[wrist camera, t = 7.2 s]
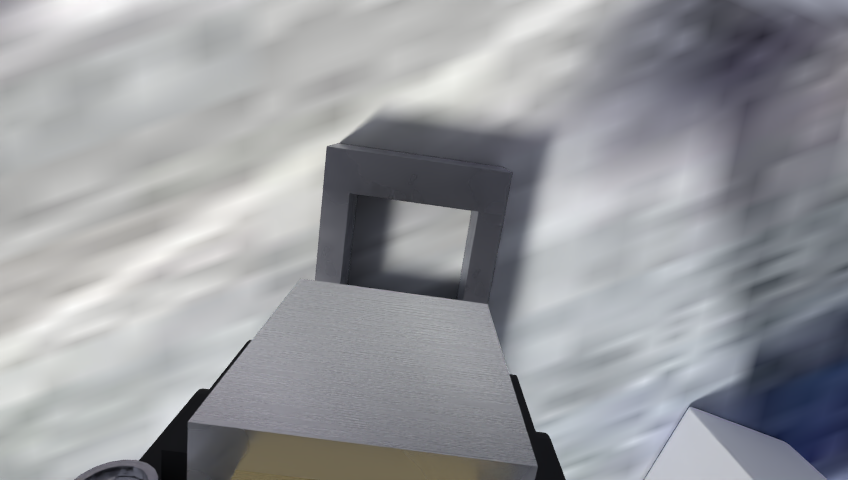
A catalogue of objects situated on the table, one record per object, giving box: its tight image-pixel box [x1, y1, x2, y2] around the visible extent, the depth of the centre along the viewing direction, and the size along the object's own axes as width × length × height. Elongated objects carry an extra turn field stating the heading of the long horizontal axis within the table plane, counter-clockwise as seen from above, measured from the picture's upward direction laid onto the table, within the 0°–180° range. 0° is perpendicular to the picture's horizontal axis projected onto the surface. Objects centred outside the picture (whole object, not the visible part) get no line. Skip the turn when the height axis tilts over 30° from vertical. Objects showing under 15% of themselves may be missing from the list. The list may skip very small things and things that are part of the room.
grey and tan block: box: [187, 279, 538, 480], centre depth 10 cm, size 5×5×7 cm
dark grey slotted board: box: [315, 143, 512, 304], centre depth 27 cm, size 9×21×3 cm, turn 172°
